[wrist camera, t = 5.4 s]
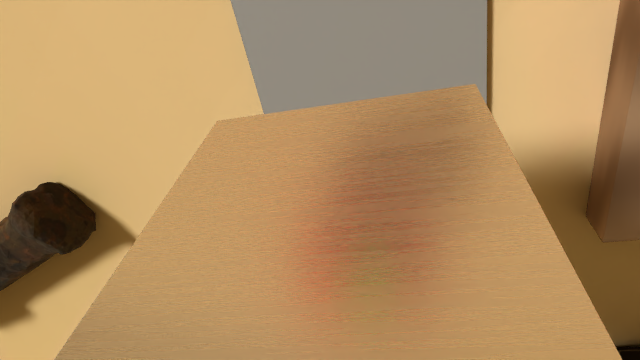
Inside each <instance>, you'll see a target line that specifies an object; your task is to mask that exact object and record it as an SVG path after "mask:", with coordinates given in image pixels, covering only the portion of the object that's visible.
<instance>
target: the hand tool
mask: <svg viewBox="0 0 640 360" xmlns="http://www.w3.org/2000/svg"><path fill="white" fill-rule="evenodd" d="M95 230H96V222H95V213H94V212H93V211H92V210H91V209H90V208H88V207H87V206H86V205H85V204H84V203H83V202H82V201H81V200H80V199H79V198H78V197H77V196H76V195H75V194H73V193H72V192H71V191H69V190H68V189H67V188H65V187H63V186H61V185H60V184H57V183H53V182H47V183H43V184H40V185H39V186H38V187H37V188H36V189H35V190H32V191H27V192H24V193H23V194H21V195H20V196H18V197H17V199H16V200H15V201H14V202H13V203H12V207H11V211H10V213H9V215H8V217H6V218H4V219H3V220H2V221H1V222H0V291H1V290H2V289H4V288H6V287H7V286H9V285H10V284H12V283H13V282H15V281H16V280H18V279H19V278H21V277H22V276H24V275H25V274H27V273H29V272H30V271H32V270H33V269H35V268H36V267H37V266H39V265H40V264H42V263H43V262H45V261H46V260H48V259H49V258H50V257H52V256H53V255H55V254H56V253H59V254H66V253H69V252H71V251H73V250H74V249H77V248H79V247H81V246H82V245H83V244H84V242H85V241H86V240H87V239H88V238H89V236H90V235H91V233H92V232H93V231H95Z"/></svg>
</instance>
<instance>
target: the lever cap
mask: <svg viewBox="0 0 640 360" xmlns="http://www.w3.org/2000/svg"><path fill="white" fill-rule="evenodd" d="M54 360H622V358H621V356H620V354H619V353H618V351H617V349H616V347H615V345H614V343H613V341H612V339H611V337H610V336H609V334H608V332H607V330H606V328H605V326H604V324H603V322H602V321H601V319H600V317H599V315H598V313H597V311H596V309H595V307H594V306H593V304H592V302H591V300H590V298H589V296H588V294H587V292H586V291H585V289H584V287H583V285H582V283H581V281H580V279H579V277H578V276H577V274H576V272H575V270H574V268H573V266H572V264H571V262H570V261H569V259H568V257H567V255H566V253H565V251H564V249H563V247H562V246H561V244H560V242H559V240H558V238H557V236H556V234H555V232H554V230H553V229H552V227H551V225H550V223H549V221H548V219H547V217H546V215H545V214H544V212H543V210H542V208H541V206H540V204H539V202H538V200H537V199H536V197H535V195H534V193H533V191H532V189H531V187H530V185H529V184H528V182H527V180H526V178H525V176H524V174H523V172H522V170H521V169H520V167H519V165H518V163H517V161H516V159H515V157H514V155H513V154H512V152H511V150H510V148H509V146H508V144H507V142H506V140H505V139H504V137H503V135H502V133H501V131H500V129H499V127H498V125H497V123H496V122H495V120H494V118H493V116H492V114H491V112H490V110H489V108H488V107H487V105H486V103H485V101H484V99H483V97H482V95H481V93H480V92H479V90H478V88H477V86H476V84H471V85H464V86H457V87H450V88H443V89H436V90H429V91H422V92H415V93H408V94H401V95H394V96H387V97H380V98H373V99H366V100H359V101H353V102H346V103H339V104H332V105H325V106H318V107H311V108H304V109H297V110H290V111H283V112H276V113H269V114H262V115H255V116H248V117H241V118H234V119H227V120H220V121H217V122H216V124H215V125H214V126H213V128H212V129H211V131H210V132H209V134H208V135H207V137H206V138H205V140H204V141H203V143H202V144H201V146H200V147H199V148H198V150H197V151H196V153H195V154H194V156H193V157H192V159H191V160H190V162H189V163H188V165H187V166H186V167H185V169H184V170H183V172H182V173H181V175H180V176H179V178H178V179H177V181H176V182H175V184H174V185H173V187H172V188H171V189H170V191H169V192H168V194H167V195H166V197H165V198H164V200H163V201H162V203H161V204H160V206H159V207H158V209H157V210H156V211H155V213H154V214H153V216H152V217H151V219H150V220H149V222H148V223H147V225H146V226H145V228H144V229H143V231H142V232H141V233H140V235H139V236H138V238H137V239H136V241H135V242H134V244H133V245H132V247H131V248H130V250H129V251H128V252H127V254H126V255H125V257H124V258H123V260H122V261H121V263H120V264H119V266H118V267H117V269H116V270H115V272H114V273H113V274H112V276H111V277H110V279H109V280H108V282H107V283H106V285H105V286H104V288H103V289H102V291H101V292H100V294H99V295H98V296H97V298H96V299H95V301H94V302H93V304H92V305H91V307H90V308H89V310H88V311H87V313H86V314H85V315H84V317H83V318H82V320H81V321H80V323H79V324H78V326H77V327H76V329H75V330H74V332H73V333H72V335H71V336H70V337H69V339H68V340H67V342H66V343H65V345H64V346H63V348H62V349H61V351H60V352H59V354H58V355H57V357H56V358H55V359H54Z"/></svg>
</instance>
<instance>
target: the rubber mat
mask: <svg viewBox="0 0 640 360" xmlns="http://www.w3.org/2000/svg"><path fill="white" fill-rule="evenodd" d="M231 3H232V7H233V10H234V14H235V17H236V20H237V24H238V27H239V30H240V34H241V37H242V41H243V44H244V47H245V51H246V54H247V58H248V61H249V64H250V68H251V71H252V75H253V78H254V81H255V85H256V88H257V91H258V95H259V98H260V102H261V105H262V108H263V112H264V114H269V113H276V112H283V111H290V110H297V109H304V108H311V107H318V106H325V105H332V104H339V103H346V102H353V101H359V100H366V99H373V98H380V97H387V96H394V95H401V94H408V93H415V92H422V91H429V90H436V89H443V88H450V87H457V86H464V85H471V84H476V86H477V88H478V90H479V92H480V93H481V95H482V97H483V99H484V101H485V103H486V105H487V0H231Z"/></svg>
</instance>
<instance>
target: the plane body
mask: <svg viewBox="0 0 640 360" xmlns="http://www.w3.org/2000/svg"><path fill="white" fill-rule="evenodd" d="M586 217H587V219H588V221H589V222H590V224H591V225H592V227H593V228H594V230H595V231H596V233H597V234H598V236H599V237H600V239H601V240H602V242H614V241H627V240H640V0H620V5H619V11H618V18H617V24H616V30H615V36H614V43H613V49H612V55H611V61H610V68H609V74H608V80H607V86H606V93H605V99H604V105H603V111H602V118H601V124H600V130H599V136H598V143H597V149H596V155H595V161H594V168H593V174H592V180H591V187H590V193H589V199H588V205H587V212H586Z"/></svg>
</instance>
